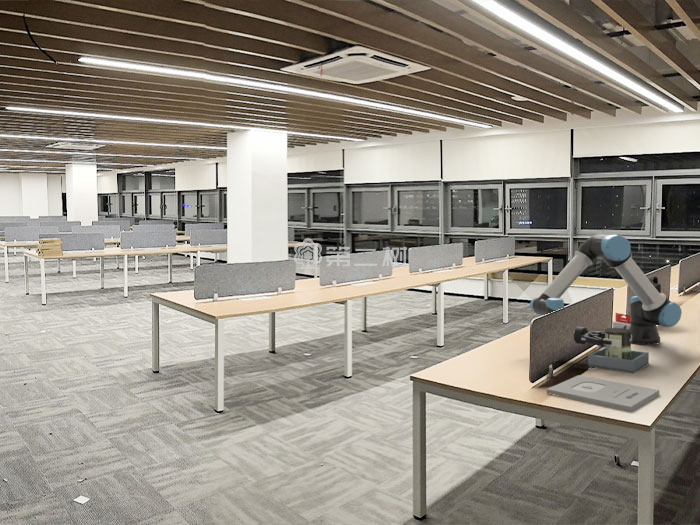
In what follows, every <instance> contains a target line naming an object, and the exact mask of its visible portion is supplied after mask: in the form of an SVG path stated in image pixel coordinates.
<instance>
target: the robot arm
mask: <svg viewBox="0 0 700 525" xmlns="http://www.w3.org/2000/svg"><path fill="white" fill-rule="evenodd" d="M631 247H632V246H631V243H630V241H629V240H628V239H627V238H626V237H625V236H623V235H619V234H604V233H603V234H602V233H601V234H600V233H599V234H594V235H592V236H590V237H589V238H587V239H585V241H584V242H582V244H581V245H579V247H578V248H577V249H576V250H575V251H574V256H573V257H572V258H571V260H570V261H569V262H568V263H567V264H566V265H565V267H564V268H562V270H561V271H560V272H559V273H558V275H557V276H555V278H554V279H553V281H551V282H550V283H549V285H548V286H547V288H546V289H545V290H544V291H543V292H542V293H541V295H540V296H538V297H535V298H532V299H531V300H530V302H529V308H530V310H531V311H532V312H533V313H535V314H537V315H541V316H543V315H545V314H548V313H551V312H553V311H556V310H558V309H561V308H564V309H565V303H564V302H565V301H564V299H563V298H561V297H562V296H563V295H564V294H565V293H566V292H567V290H568V289H569V288H570V287H571V285H572V284H574V282H576V280H577V279H578V277H579V276H580V275H581V274H582V273H583V272H584V271H585V270H586V269H587V267H588V266H591V265H593V263H594V262H596V261H597V260H599V259H600V260H603V261H604V262H605V263H606V265H607V266H608V267H609V268H610V269H615V271H616V272H617V273H618V274H619V275H620V277H621V278H622V279H623V280H624V282H625V283H626V284H627V285H628V287H629V288H630V289H631V290H632V292H633V293H634V294H635V296H634V295H633V296H631V297H630V300H629V301H630V303H629V305H630V308H629V310H630V311H629V313H630V314H629V315H630V328H629V330H631V344H635V343H636V344H638V345H658V344H657V343H659V344H661V336H660V333H659V330H658V327H657V326H656V324H657V325H659V326H661V327H662V328H663V327H666V328H670V327H671V328H672V327H674V326H676V325H677V324H678V323H679V322H680V320H681V317H682V308H681V306H680V305H679V304H678V303H676V302H673V301H671V300H670V299H669V298H668V297H667V295H666V293H663V292H661V293H659V292H658V291H657V290H656V288H655V287H654V286H653V284H652V283H653V282H652V283H651V282H650V281H649V279H648V277H647V275H646V274H645V273H644V272H643V271H642V269H641V268H640V267H639V265H637V263H636V262H635V260H634V259H633V258H632V256H633V253H632V249H631ZM576 327H577V328H576V329H575V333H574V340H575V342H576V343H575V344H579V345H585V344H586V343H587V344H591V345H594V346H600V347H601V348H603V347H604V346H605V345H608V346H616V347H621V340H615V339H606V338H605V331H600V330H599V331H597V330H591V331H590V332H589V331H588V328H586V327H585V326H576ZM636 344H635V345H636Z"/></svg>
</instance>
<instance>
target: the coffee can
mask: <svg viewBox="0 0 700 525" xmlns="http://www.w3.org/2000/svg"><path fill="white" fill-rule="evenodd" d="M604 332H605V338H606V339H615V340H621V347H616V346H608V345H604V347H605V357H612V358H619V359H627V360H631V350H632V343H631V330H628V329H622V328H613V327H612V328H611V327H610V328H609V327H608V328H606V329H604Z"/></svg>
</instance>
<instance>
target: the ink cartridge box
mask: <svg viewBox="0 0 700 525" xmlns="http://www.w3.org/2000/svg"><path fill="white" fill-rule="evenodd" d="M612 328H622V329H628V330H629V328H630V314H625V313H618V312H615V321H612Z"/></svg>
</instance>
